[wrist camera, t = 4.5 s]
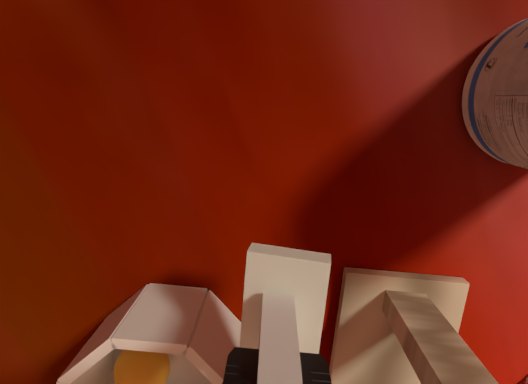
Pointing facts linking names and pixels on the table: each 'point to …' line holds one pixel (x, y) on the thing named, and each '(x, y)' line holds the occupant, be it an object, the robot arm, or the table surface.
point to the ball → (141, 367)
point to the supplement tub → (500, 97)
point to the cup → (162, 336)
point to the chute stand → (402, 330)
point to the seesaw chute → (286, 291)
